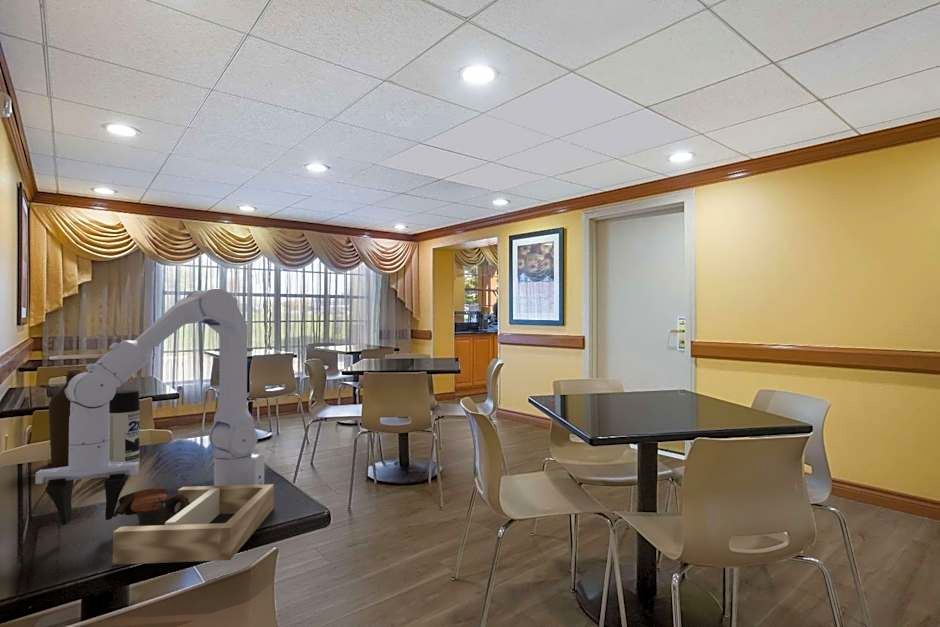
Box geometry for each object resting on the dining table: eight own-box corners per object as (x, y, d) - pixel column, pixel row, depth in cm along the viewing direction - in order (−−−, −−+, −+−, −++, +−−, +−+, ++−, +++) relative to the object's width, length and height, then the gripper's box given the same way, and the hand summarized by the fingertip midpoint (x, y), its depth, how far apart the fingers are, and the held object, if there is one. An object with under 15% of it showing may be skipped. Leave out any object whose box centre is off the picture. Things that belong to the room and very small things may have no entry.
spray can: (127, 473, 128) (128, 393, 128) (101, 473, 128) (101, 393, 129) (145, 465, 135) (145, 389, 135) (119, 465, 135) (120, 389, 135)
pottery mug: (106, 547, 85) (104, 497, 88) (127, 551, 93) (125, 505, 96) (186, 523, 89) (182, 476, 92) (200, 529, 97) (195, 486, 100)
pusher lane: (273, 509, 102) (273, 484, 102) (230, 560, 80) (230, 527, 80) (182, 512, 101) (182, 486, 101) (112, 564, 79) (113, 531, 79)
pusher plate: (219, 514, 99) (219, 487, 99) (174, 553, 82) (174, 522, 82) (211, 514, 99) (211, 488, 99) (164, 554, 82) (165, 522, 82)
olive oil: (106, 457, 143) (107, 368, 144) (65, 468, 133) (66, 371, 134) (80, 454, 147) (81, 367, 147) (38, 464, 137) (39, 370, 137)
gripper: (143, 434, 96) (142, 507, 95) (48, 440, 91) (47, 517, 90) (133, 441, 89) (132, 521, 89) (30, 449, 84) (28, 532, 84)
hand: (88, 520), depth 89 cm, fingers open, 6 cm apart
